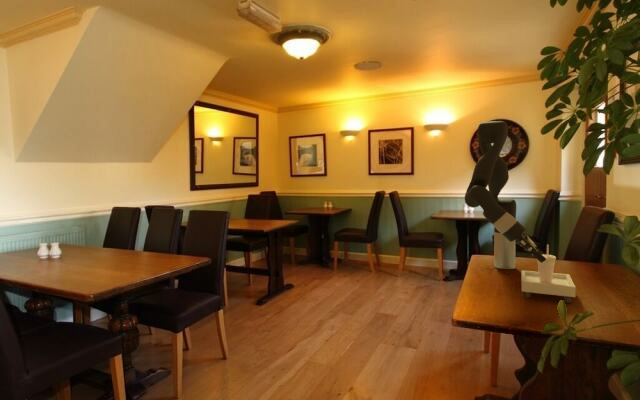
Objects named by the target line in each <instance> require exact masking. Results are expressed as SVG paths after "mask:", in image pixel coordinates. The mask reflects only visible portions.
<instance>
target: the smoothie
mask: <svg viewBox="0 0 640 400" xmlns="http://www.w3.org/2000/svg"><path fill="white" fill-rule="evenodd" d="M549 249H550V245H549V244H546V254H545V253H544V254H542V255H543V256H544V257H545V258H546V260H545V261H544V262H542V263H541V262H540V261H539V260H538V259H537V258H535V259H536V261H537V262H536V263H537V272H539V279H540V282H542V283H551V282H552V276H553V273H554V268H555V263H556V260H557V257H556V256H555V255H552V254H549Z"/></svg>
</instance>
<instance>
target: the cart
mask: <svg viewBox="0 0 640 400" xmlns="http://www.w3.org/2000/svg"><path fill="white" fill-rule="evenodd" d="M520 273H521V278H520V279H521V292H525V299H531V294H533V293H534V294H542V295H552V296H559V297H564V303H565V302H566V303H567V304H570V303H571V298H576V290H577V289H576V285H575V284H574V282H573V279H572V277H571V275H570V274H569V273H567V274H566V273H557V272H553V276H552V282H551V283H542V282H540V279H539V271H533V270H521V271H520Z"/></svg>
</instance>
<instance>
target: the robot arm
mask: <svg viewBox="0 0 640 400" xmlns="http://www.w3.org/2000/svg"><path fill="white" fill-rule="evenodd" d="M508 126H509V125H508V123H507V122H506V121H503V120H498V121H497V120H494V121H483V122H481V123H479V124H478V127H477V136H478V142H479V146H480V149H481V152H482V156H481V157H480V158H479V159H478V161H477V162H476V163H475V166H474V169H473V172H472V174H471V175H472V176H471V179H470V182H469V185H468V186H467V188H466V191H465V194H464V202H465V204H466V206H468V207H470V208H472V209H473V208H478V207H481V209H482V211H483V212H482V215H483V217H484V218H485V219H486V220H487V221H489V222H490V223H491V225H492V226H494V228H493V236H494V237H493V242H494V243H493V251H494V252H493V266H494V268H496V269H500V270H514V269H516V240H517V242H518V245H519V246H520V247H521V248H523V249H524V251H526V252H527V253H528V254H529V255H531V256H534V258H535V259H536V258H537V259H538V260H539V261H540V262H541V263H542V262H544V261H545V260H546V258H545V257H544V256H543V255H542V254H545V253H544V252H543V251H542V250H541V249H540V248H539V247H538V246H537V245H536V244H535V242H534V241H533V240H532V239H531V237H529V236H528V235H526V234H525V232H526V227H525V226H524V225H523V224H522V223H521V222H519V221H518V219H517V202H516V200H515V199H514V198H513V199H512V198H499V197H498V196H499V195H500V193H501V191H502V190H503V189H504V187H505V186H506V185H507V184H508V181H509V178H510V176H509V169H508V168H509V166H508V163H506V161H505V160H504V159H503V157H501V156H500V154H501V152H502V151H503V148H504V145H505V143H506V141H507V139H508V134H509V127H508ZM487 188H488V189H487ZM537 259H536V260H537Z"/></svg>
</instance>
